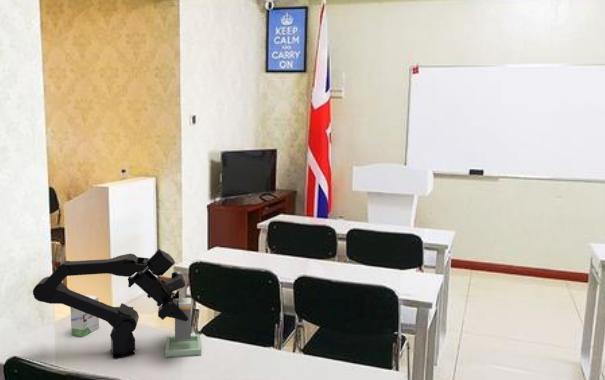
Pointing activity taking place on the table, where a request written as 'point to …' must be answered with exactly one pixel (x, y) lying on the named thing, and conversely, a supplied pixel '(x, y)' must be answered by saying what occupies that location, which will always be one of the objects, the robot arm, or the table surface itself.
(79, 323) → the ink box
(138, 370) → the table surface
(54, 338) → the table surface
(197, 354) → the tray
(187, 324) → the grey tall block
